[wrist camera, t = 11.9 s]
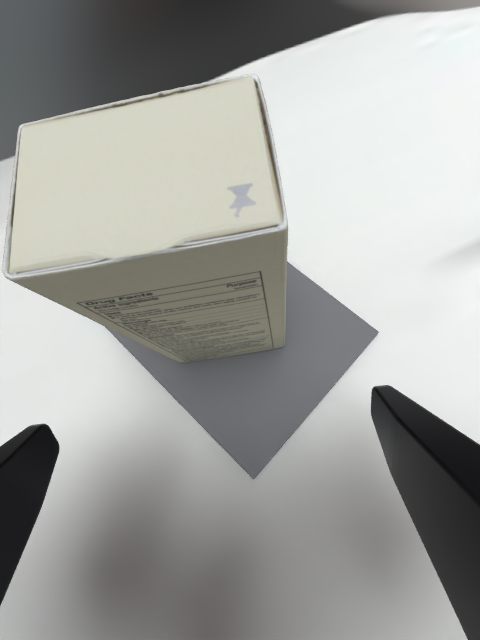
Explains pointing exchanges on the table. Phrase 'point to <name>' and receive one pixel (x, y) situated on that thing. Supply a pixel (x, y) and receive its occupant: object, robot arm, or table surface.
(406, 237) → the table surface
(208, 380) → the mat
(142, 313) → the skincare box
